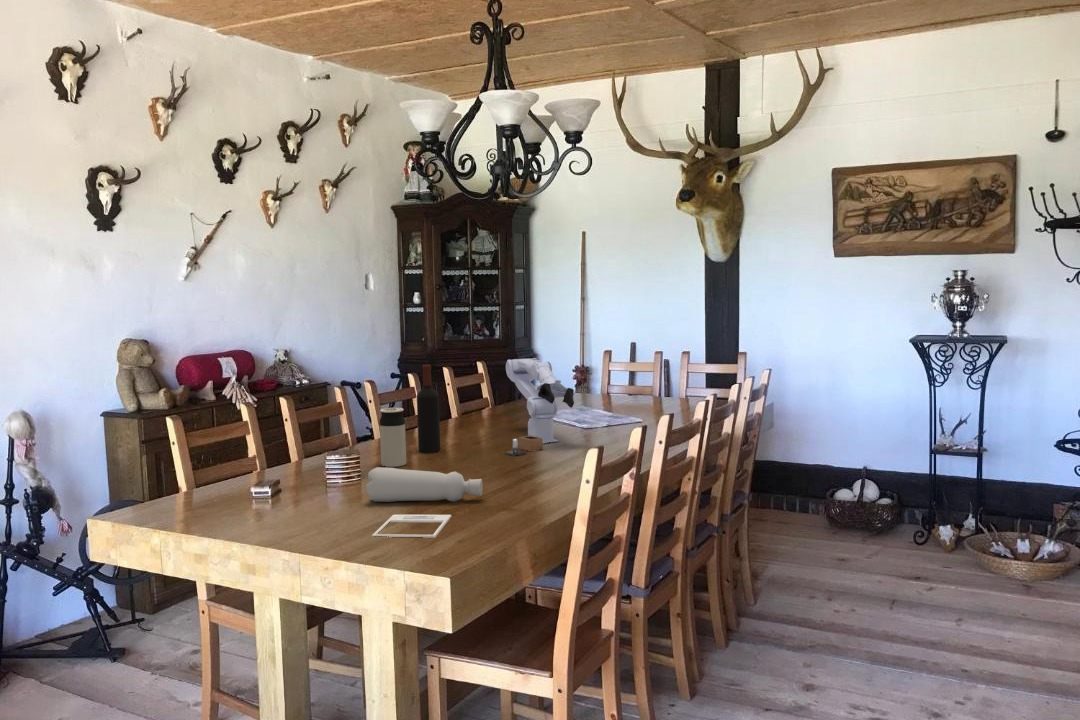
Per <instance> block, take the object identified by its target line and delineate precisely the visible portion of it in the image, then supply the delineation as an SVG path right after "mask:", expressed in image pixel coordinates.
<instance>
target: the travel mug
mask: <svg viewBox="0 0 1080 720" xmlns="http://www.w3.org/2000/svg"><path fill="white" fill-rule="evenodd" d="M379 412H380V414H381V416H380V418H379V437H380V440H379V442H380V460H381V461H380V462H381V463H380V464H381V466H382V467H384V466H385V467H384V468H398V467H403V466H405V465H406V464H407V442H406V440H407V439H406V419H405V417H404V415H403V414H404V408H403V407H387V408H381V409H380V410H379Z"/></svg>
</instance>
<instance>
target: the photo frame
mask: <svg viewBox="0 0 1080 720" xmlns="http://www.w3.org/2000/svg"><path fill="white" fill-rule="evenodd" d="M451 518H452V514H392V516H390V517H389V518H388V519H387V520H386V521H385V522H384V523H383V524H382V525H381V526H380V527H379V528H378V529H377V530H376V531H375V532H374V533H372V536H387V537H386V538H392V537H423V539H431V538H432V539H435V538H437V536H438V535H439V534H440V532H441V530H443V528H444V527H445V525H446V524H447V523H448V522H449V521H450V519H451ZM389 522H390V523H431V524H432V523H435V524H436V523H439V524H440V523H441V524H440V525H439V526H438V528H437V529H436V530H435V532H434V533H433V534H405V533H404V534H397V533H396V534H389V533H388V534H387V533H385V534H381V533H379V534H378V532H379V531H381V530H382V529H383V528H384V527H385V526H386V525H387V524H388V523H389ZM390 523H389V524H390ZM389 524H388V525H389ZM388 525H387V526H388ZM387 526H386V527H387ZM386 527H385V528H386ZM385 528H384V529H385ZM384 529H383V530H384ZM383 530H382V531H383ZM382 531H381V532H382ZM388 536H389V537H388Z"/></svg>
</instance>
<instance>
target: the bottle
mask: <svg viewBox="0 0 1080 720" xmlns="http://www.w3.org/2000/svg"><path fill="white" fill-rule="evenodd" d="M367 479H368V480H370V481H369V482H367V483H366V488H365V490H366V495H368V496H369V499H370V500H372V501H373V502H374V503H375V502H377V503H378V502H379V503H380V502H381V503H382V502H383V503H393V502H415V501H416V502H418V501H419V502H424V501H425V502H426V501H427V502H428V501H430V502H431V501H441V500H447V501H448V502H453V503H454V502H457V501H460V500H462V498H463V496H464V494H468V496H477V497H482V495H483V489H484V488H483V478H476V479H471V478H469V479H468V480H467V481H465V479H464V476H463V475H462V474H461V473H459V472H457V471H451V472H449V473H443V472H439V471H427V470H415V469H401V468H397V467H374V468H373V469H371V470H370V471H369V472H368V474H367Z"/></svg>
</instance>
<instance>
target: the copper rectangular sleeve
mask: <svg viewBox="0 0 1080 720" xmlns="http://www.w3.org/2000/svg"><path fill="white" fill-rule="evenodd" d="M543 444H544V443H543V438H539V437H535V436H528V435H525V436H518V449H519V448H520V449H519V450H522V449H524V450H523V451H526V450H528V451H527V452H530V451H532V452H534V451H533V450H538V451H540V450H539V449H544V446H543Z"/></svg>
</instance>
